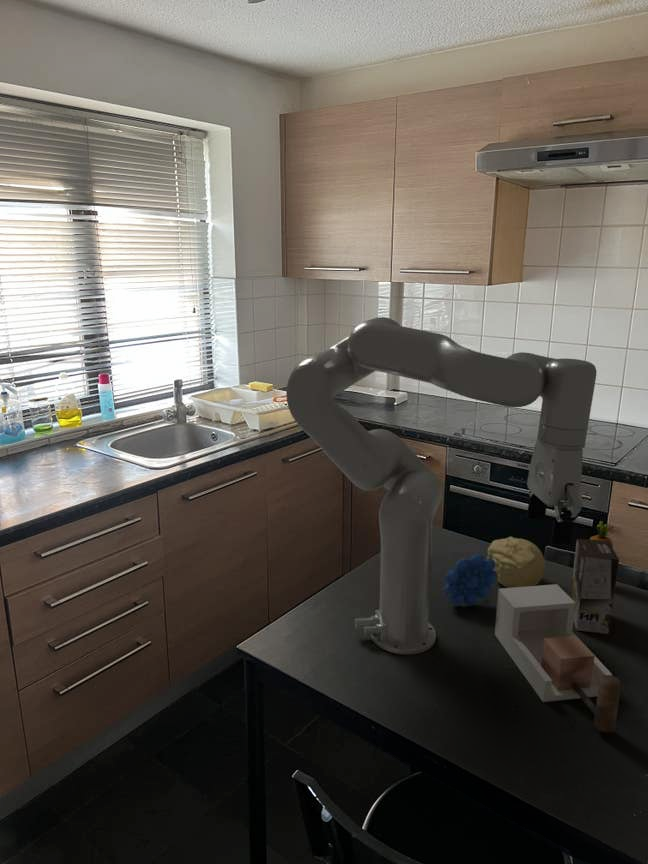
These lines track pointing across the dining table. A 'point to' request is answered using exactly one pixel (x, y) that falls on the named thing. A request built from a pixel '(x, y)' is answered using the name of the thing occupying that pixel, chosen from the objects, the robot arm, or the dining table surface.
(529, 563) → the sculpture
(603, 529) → the carrot
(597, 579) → the coffee box
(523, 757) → the dining table surface
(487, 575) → the grapes
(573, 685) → the wooden mallet
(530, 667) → the shelf lane
